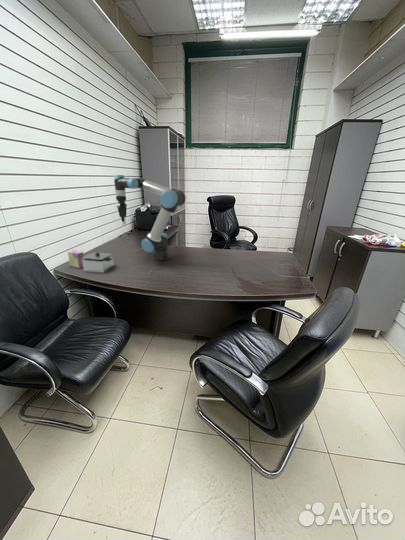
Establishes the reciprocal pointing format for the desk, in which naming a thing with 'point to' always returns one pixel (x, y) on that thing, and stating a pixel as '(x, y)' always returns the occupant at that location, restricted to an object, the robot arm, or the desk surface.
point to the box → (75, 258)
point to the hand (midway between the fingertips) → (124, 224)
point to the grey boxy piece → (98, 264)
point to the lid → (97, 256)
